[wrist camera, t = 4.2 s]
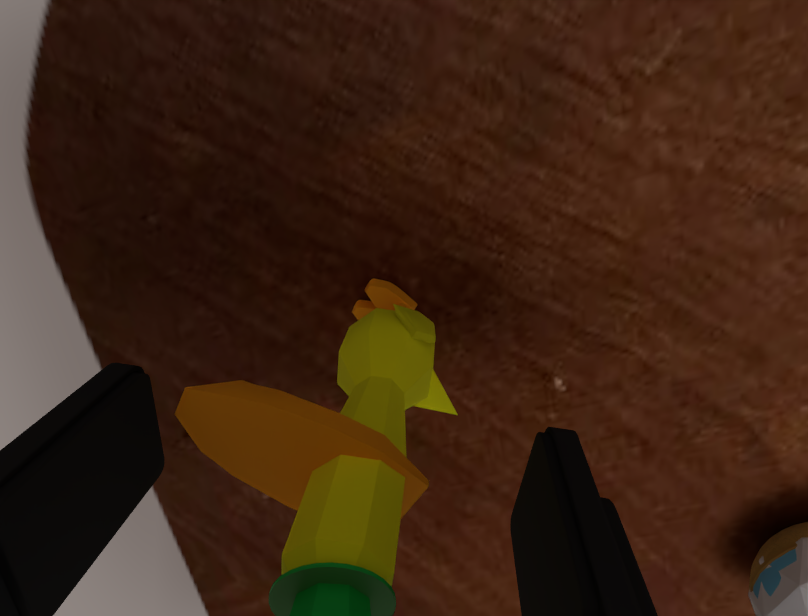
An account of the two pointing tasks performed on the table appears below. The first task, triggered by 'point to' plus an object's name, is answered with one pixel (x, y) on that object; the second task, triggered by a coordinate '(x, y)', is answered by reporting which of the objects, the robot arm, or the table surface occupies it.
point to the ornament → (781, 574)
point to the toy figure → (333, 457)
